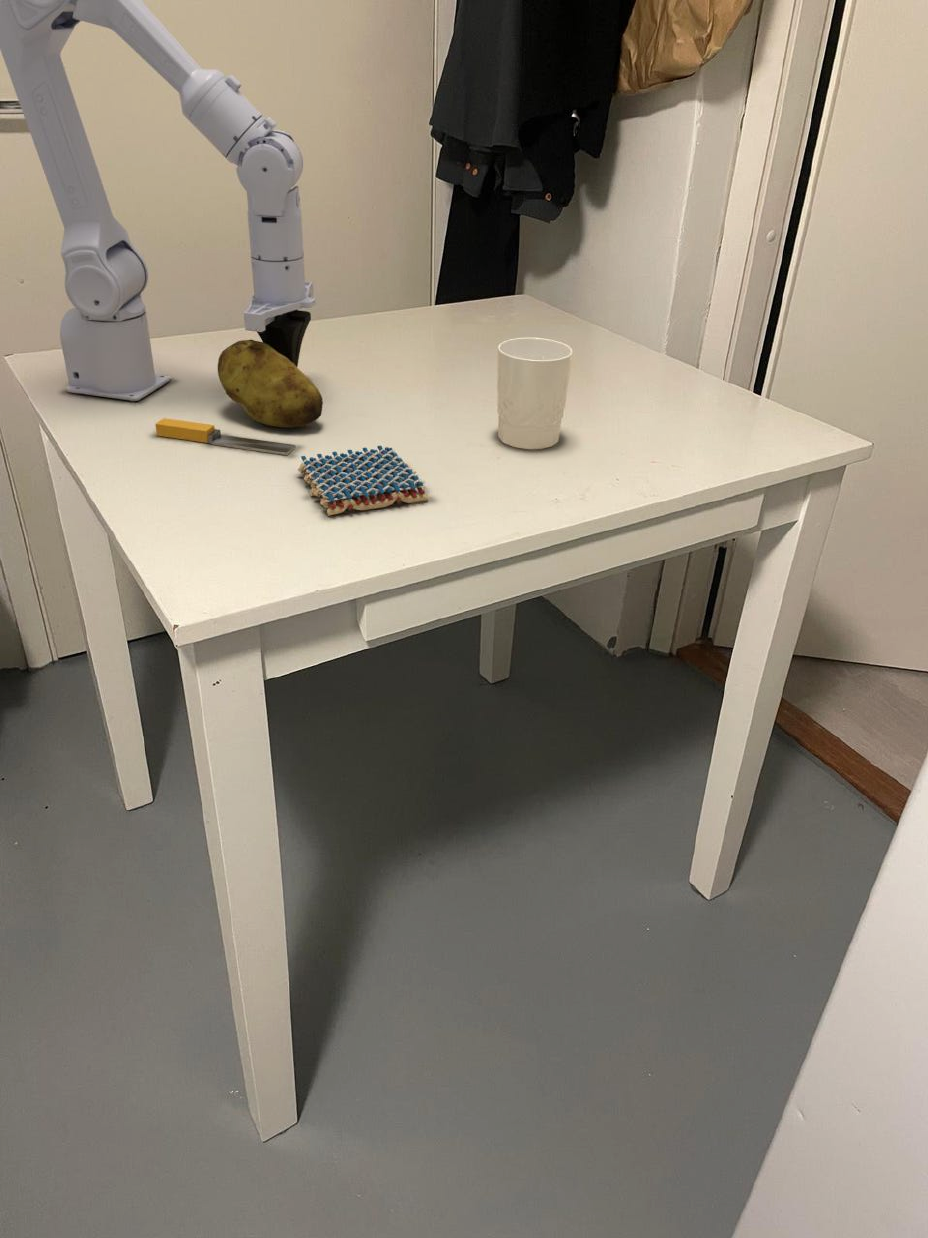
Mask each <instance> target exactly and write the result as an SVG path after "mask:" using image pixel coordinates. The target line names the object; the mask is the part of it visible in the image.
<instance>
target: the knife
mask: <svg viewBox="0 0 928 1238" xmlns="http://www.w3.org/2000/svg"><path fill="white" fill-rule="evenodd" d="M155 431H156V436H157V437H164V438H170V439H171V438H172V439H178V440H185V441H191V442H199V443H205V444H209V445H212V446H219V447H226V448H233V449H240V450H246V451H254V452H260V453H261V452H262V453H268V454H273V455H281V456H288V455H289V454H290V453H291V452H293V450H295V449H296V445H295V444H292V443H291V444H290V443H283V442H276V441H268V440H261V439H255V438H247V437H241V436H235V435H234V436H233V435H226V434H221V429H217V428H215V424H209V423H203V422H195V421H188V420H180V419H173V418H166V417H163V418H161V419H160V420H159V421H157V422H156V423H155Z"/></svg>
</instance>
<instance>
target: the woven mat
mask: <svg viewBox="0 0 928 1238" xmlns="http://www.w3.org/2000/svg"><path fill="white" fill-rule="evenodd" d="M363 452H364V453H363ZM347 453H348V454H347ZM347 453H344V452H340V454H339V455H338V452H337V451H332V455H329V454H327V455H324V457H323V454H322V453H317V454H316V456H317V458H318V459H317V458H316V457H309V460H308V459H307V457H306V455H301V456H300V457H301V460H302V462H301V463H300V466H299V467H298V468H297V471H298V472H299V473H300V474H302V475H304V476H303V480H304V481H305V483H307V484H309V485H310V487H311V488H310V490H309V491H310V493H309V494H310V496H311V497H313V496H315V497H317V498H319V499H320V502H319V504H320V505H321V506H322V507H323V508H324V509H326V513H327V516H333V515H338V514H341V513H342V514H343V513H344V511H346V510H358V511H368V510H373V509H380V508H381V509H382V508H386V507H388V506H390V505H393V504H394V503H400V502H403V503H408V504H413V503H419V502H426V501H429V499H430V496H429V493H428V492H427V493H426V492H425V490H426V488H427V486H426V484H427V483H426V481H425V480H422V478H419V474H417V470H414V471H413V469H414V468H411V467H410V466H409V464H408V463H407V462H405V460H403V458H402V457H401V456H399V454H398V453H397V451H396V450H395V449H393V447H389V446H386V447H384V448H383V446H382V445H377V449H374V448H371V449H368V448H367V447H365V446H364V447H362V451H359V450H356V451H355V452H353V450H352V449H347ZM424 484H425V485H424Z"/></svg>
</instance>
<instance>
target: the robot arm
mask: <svg viewBox="0 0 928 1238" xmlns="http://www.w3.org/2000/svg"><path fill="white" fill-rule="evenodd" d="M81 22H85V23H88V24H92V25H96V26H99V27H102V28H106V29H110V30H111V31H113V32H114V33H115V34H116V35H118V37H120V38H121V40H123V41H124V42H125V43H126V44H127V45H128V46H129V47H130V48H131V49H132V50H133V51H134V52H135V53H136V54H138V55H139V57H141V58H142V60H144V62H146V63H147V64H148V65H149V66H150V67H151V68H152V69H153V70H154V71H155V72H156V73H157V74H159V75H160V76H161V77H162V78H163V79H164V80H165V81H166V82H167V83H168V84H169V85H170V86H171V87H172V89H174V90H175V91H176V92H178V95H179V100H180V106H181V112H182V115H183V116H184V117H185V118H186V119H187V120H188V121H189V122H190V124H192V125H193V126H194V128H195V129H196V130H198V132H200V133H201V134H202V136H203V137H205V139H206V140H207V141H208V142H209V143H210V144H211V145H212V146H213V147H214V148H215V149H216V150H217V151H218V152H219V153H220V154H221V155H222V156H223V157H224V158H225V159H226V160H227V161H228V162H229V163H230V164H232V165H233V164H234V165H235V166H236V169H235V170H236V176H237V178H238V180H239V183H240V184H241V186H242V187H243V189H244V190H245V191H246V201H247V224H248V237H249V246H250V247H249V249H250V261H251V270H252V271H251V273H252V274H251V275H252V284H253V295H252V297H251V300H250V303H249V305H248V308H247V310H245V311H244V312H243V320H244V331H250V332H256V333H257V335H258V336H259V338H260V339H261V342H263V343H265V344H267V345H269V346H271V347H272V348H273V349H274V350H275V351H277V352H278V353H280V354H281V355H283V356H285V357H286V358H288V359H289V360H290V361H291V362H292V361H293V362H294V363H295V365H296V367H297V368H298V365H299V361H300V360H299V359H300V354H301V349H302V344H303V340H304V336H305V333H306V331H307V328H308V326H309V324H310V322H311V320H312V314H311V312H310V311H307V310H300V309H310V308H313V307H314V306H316V305H317V301H316V298H315V295H314V294H315V293H314V282H312V281H306V277H305V276H306V275H305V256H304V237H303V236H304V235H303V220H302V218H303V217H302V209H301V205H300V204H301V203H300V201H301V196H300V187H299V185H296V184H297V183H298V182H299V180H300V179H301V175H302V173H303V169H304V159H303V156H302V155H303V154H302V152H301V150H300V148H299V146H298V144H297V143H296V142H295V140H294V137H293V136H292V135H291V134H289V132H286V131H283V130H280V129H275V128H276V126H277V123H276V122H275V120H273V118H272V117H270V116H268V117H267V118H266V117H265V116H263V114H262V113H261V112H260V111H259V110H258V109H257V108H256V107H255V106H254V105H253V103H252V102H250V100H248V98H247V97H246V96H245V95H244V94H243V93H242V92H241V91H240V90H239V89H240V88H242V83H241V82H240V81H239V80H238V78H236V76H235V75H234V74H231V75H228V76H226V75H225V74H224V73H223V72H222V71H221V70H220V69H204V68H202V67H200V65H199V64H198V63H197V62H196V60H194V58H193V57H192V56H191V55H190V54H189V53H188V52H187V50H186V49H185V48H184V47H183V46H182V45H181V44H180V43H179V42H178V40H177V39H176V38H175V37H174V36H173V34H172V33H171V32H170V31H169V30H168V28H167V27H166V26H164V24H163V23H162V22H161V21H160V20H159V19H158V17H157V16H156V15H155V14H154V13H153V12H152V10H151V9H150V8H149V7H148V6H147V5H146V4H145V3H144V2H143V0H0V52H1V56H2V59H3V61H4V64H5V66H6V69H7V72H8V74H9V77H10V81H11V83H12V86H13V88H14V92H15V94H16V98H17V100H18V102H19V106H20V108H21V112H22V114H23V116H24V120H25V122H26V125H27V128H28V131H29V134H30V136H31V139H32V142H33V145H34V148H35V150H36V153H37V156H38V159H39V161H40V164H41V167H42V170H43V172H44V175H45V179H46V181H47V184H48V187H49V189H50V192H51V195H52V198H53V201H54V203H55V206H56V208H57V209H56V210H57V211H58V215H59V217H60V220H61V223H62V226H63V236H62V242H61V247H60V255H61V258H62V262H63V264H64V269H65V275H64V290H65V294H66V296H67V298H68V300H69V302H70V303H71V305H72V306H73V308H71V309H69V310H67V311H66V312H65V314H64V315H63V316H62V319H61V323H60V327H59V338H60V344H61V350H62V355H63V359H64V365H65V370H66V375H67V381H68V384H69V385H67V386H65V392H67V393H72V394H73V393H75V394H81V395H87V396H88V395H89V396H96V397H102V398H103V397H105V398H110V399H117V400H125V401H133V402H137V401H140V400H142V399H143V398H145V397H146V396H148V395H149V394H151V393H153V392H154V391H156V390H157V389H159V388H161V387H162V386H164V385H165V384H167V383H168V382H170V381H171V376H169V375H166V374H165V375H164V374H156V372H155V365H154V359H153V352H152V343H151V338H150V337H151V336H150V331H149V330H150V329H149V324H148V317H147V316H148V315H147V311H146V309H147V308H146V304H145V302H144V301H143V298H142V293H143V292H144V291H145V289H146V288H147V285H148V281H149V271H148V267H147V264H146V262H145V260H144V258H143V256H142V255H141V254H140V253H139V252H138V251H137V249H136V248H135V247H134V246H133V244H132V242H131V239H130V236H129V234H128V231H127V229H126V228H125V227H124V226H123V224H122V223H120V221H118V220H117V219H116V217H114V214H113V211H112V209H111V207H110V202H109V199H108V197H107V194H106V190H105V187H104V184H103V180H102V178H101V175H100V172H99V169H98V166H97V163H96V160H95V157H94V154H93V151H92V148H91V145H90V142H89V139H88V136H87V133H86V130H85V127H84V124H83V121H82V118H81V115H80V112H79V109H78V105H77V103H76V99H75V97H74V93H73V90H72V88H71V85H70V82H69V79H68V76H67V72H66V69H65V67H64V63H63V60H62V56H61V53H62V51H63V49H64V47H65V45H66V44H67V42H68V40H69V38H70V36H71V35H72V33H73V31H74V29H75V27H76V26H77V25H78V24H80V23H81Z"/></svg>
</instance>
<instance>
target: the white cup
mask: <svg viewBox="0 0 928 1238" xmlns="http://www.w3.org/2000/svg"><path fill="white" fill-rule="evenodd" d="M573 353H574V350H573V348H572V347H571V346H569V345H568V344H566V343H564V342H562V341H558V340H554V339H550V338H542V337H515V338H511V339H506V340H504V341H502V342H500V343H499V344H498V345H497V371H496V372H497V375H496V376H497V378H496V380H497V381H496V388H497V389H496V390H497V399H496V400H497V401H496V402H497V403H496V404H497V411H496V412H497V414H498V415H497V416H498V419H497V421H498V422H497V423H498V424H497V425H498V426H497V437H498V439H499V440H500V441H501V442H502V443H503V444H505V445H507V446H511V447H513V448H518V449H523V450H542V449H547V448H551V447H553V446H554V445H556V444H558V442H559V439H560V432H561V424H562V419H563V418H564V411H565V409H566V408H565V407H566V402H567V396H568V389H569V382H570V375H571V369H572V361H573Z"/></svg>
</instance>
